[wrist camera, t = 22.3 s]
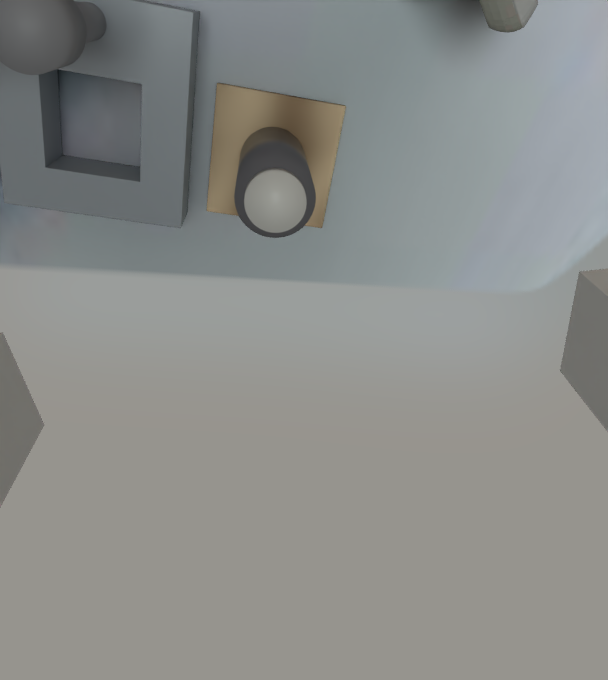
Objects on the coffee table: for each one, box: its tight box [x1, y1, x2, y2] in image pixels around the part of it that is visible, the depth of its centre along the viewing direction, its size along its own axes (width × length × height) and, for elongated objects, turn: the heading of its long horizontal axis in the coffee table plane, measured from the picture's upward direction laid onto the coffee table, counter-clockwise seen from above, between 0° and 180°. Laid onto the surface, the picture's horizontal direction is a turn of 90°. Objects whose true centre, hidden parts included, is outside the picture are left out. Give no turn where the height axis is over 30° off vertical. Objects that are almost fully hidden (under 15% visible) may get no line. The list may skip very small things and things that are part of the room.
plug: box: [234, 127, 316, 238], centre depth 36 cm, size 5×5×10 cm
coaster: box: [207, 83, 346, 228], centre depth 40 cm, size 9×9×1 cm
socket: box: [0, 0, 200, 228], centre depth 34 cm, size 12×14×10 cm
